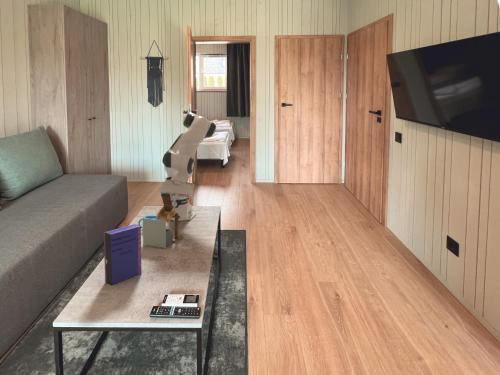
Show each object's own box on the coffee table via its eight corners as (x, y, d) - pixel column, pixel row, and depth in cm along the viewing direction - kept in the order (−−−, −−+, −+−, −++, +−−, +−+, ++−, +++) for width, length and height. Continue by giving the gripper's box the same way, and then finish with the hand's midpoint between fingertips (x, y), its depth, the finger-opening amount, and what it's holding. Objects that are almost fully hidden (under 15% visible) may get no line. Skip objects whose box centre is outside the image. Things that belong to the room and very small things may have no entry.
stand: (161, 235, 296) (161, 209, 293) (183, 238, 292) (183, 211, 288) (153, 239, 287) (153, 213, 283) (175, 242, 282) (175, 215, 279)
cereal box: (134, 271, 238) (133, 223, 233) (141, 274, 235) (140, 225, 230) (105, 282, 224) (103, 231, 219) (112, 285, 221) (110, 234, 216)
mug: (159, 228, 309) (158, 216, 307) (155, 232, 301) (155, 219, 299) (140, 227, 310) (140, 215, 308) (136, 231, 302) (136, 218, 300)
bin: (153, 240, 286) (152, 213, 283) (174, 243, 282) (174, 216, 279) (143, 245, 276) (142, 218, 272) (165, 248, 271) (165, 221, 268)
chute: (164, 212, 291) (159, 192, 282) (177, 213, 288) (172, 193, 280) (156, 222, 283) (151, 202, 275) (170, 224, 280) (165, 203, 272)
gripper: (197, 186, 297) (189, 205, 290) (166, 183, 303) (159, 202, 296) (193, 180, 292) (186, 200, 285) (163, 177, 298) (155, 196, 291)
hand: (172, 201), depth 290 cm, fingers closed
